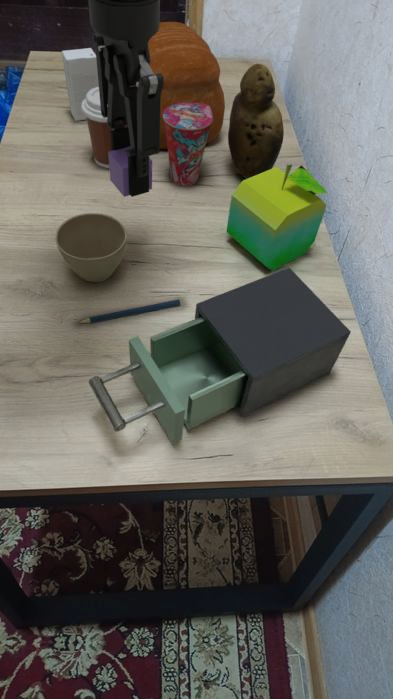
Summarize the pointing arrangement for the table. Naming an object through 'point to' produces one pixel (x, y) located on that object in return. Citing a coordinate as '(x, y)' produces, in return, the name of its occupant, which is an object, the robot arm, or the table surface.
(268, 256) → the apple
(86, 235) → the flower pot
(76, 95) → the cosmetic box
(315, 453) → the table surface
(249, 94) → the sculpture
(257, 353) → the charcoal drawer box
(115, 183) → the purple cube
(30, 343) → the table surface
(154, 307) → the pencil
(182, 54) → the bread
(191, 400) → the green drawer
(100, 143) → the coffee cup
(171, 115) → the cup
